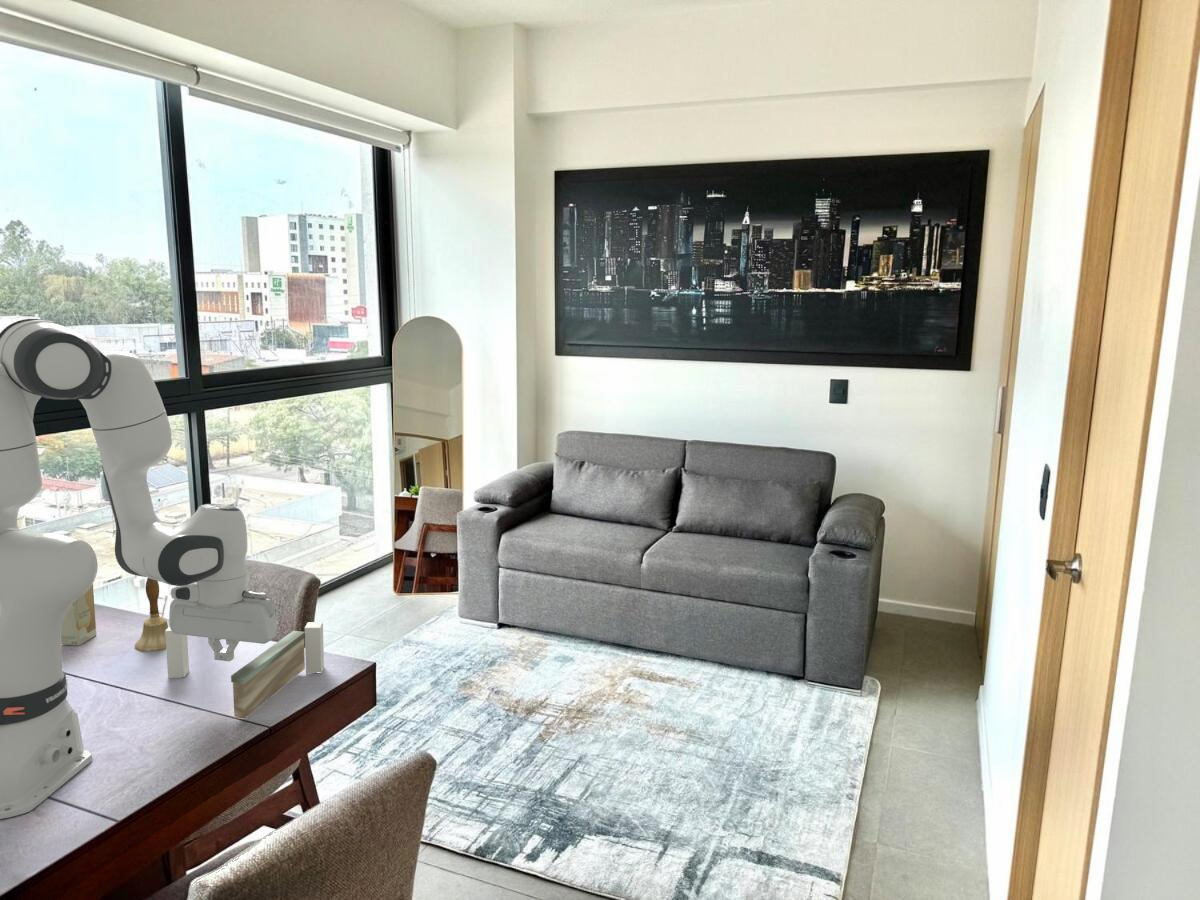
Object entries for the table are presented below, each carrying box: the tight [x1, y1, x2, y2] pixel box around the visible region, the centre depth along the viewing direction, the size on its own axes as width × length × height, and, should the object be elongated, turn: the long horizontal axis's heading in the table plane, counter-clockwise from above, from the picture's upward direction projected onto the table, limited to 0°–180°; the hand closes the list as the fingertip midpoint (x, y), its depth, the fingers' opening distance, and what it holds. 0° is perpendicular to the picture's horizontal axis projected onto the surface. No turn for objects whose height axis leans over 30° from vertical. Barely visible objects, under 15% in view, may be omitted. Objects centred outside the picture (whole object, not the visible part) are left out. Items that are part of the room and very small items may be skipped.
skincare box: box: [61, 583, 97, 646], centre depth 180 cm, size 6×4×12 cm
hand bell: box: [134, 577, 169, 652], centre depth 179 cm, size 8×8×16 cm
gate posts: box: [165, 621, 325, 679], centre depth 167 cm, size 3×30×10 cm, turn 98°
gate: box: [230, 630, 306, 720], centre depth 158 cm, size 3×21×8 cm, turn 171°
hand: (224, 659), depth 155 cm, fingers closed
